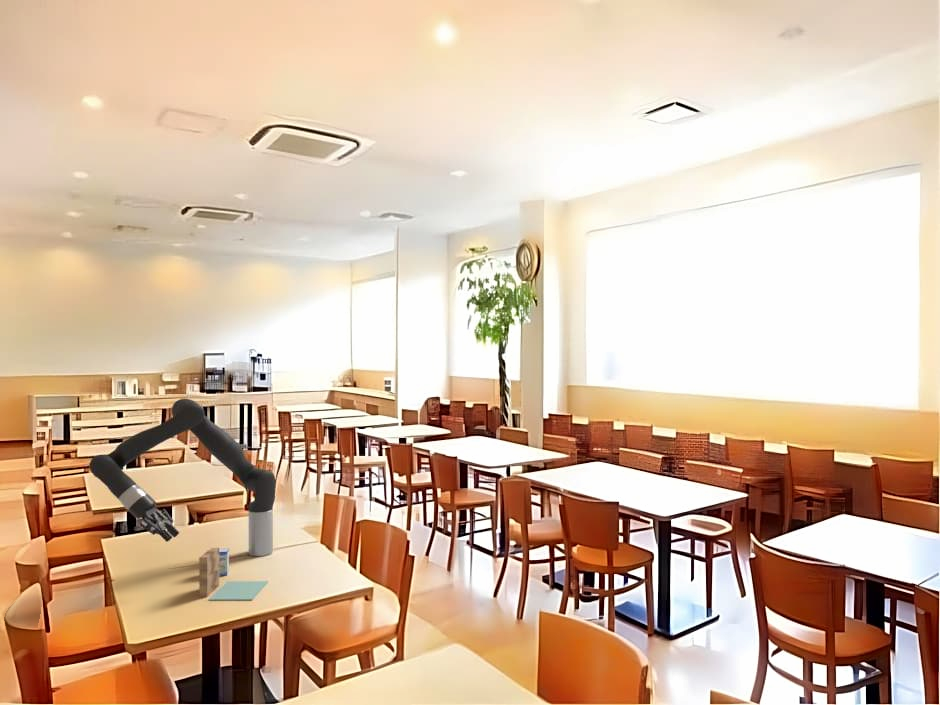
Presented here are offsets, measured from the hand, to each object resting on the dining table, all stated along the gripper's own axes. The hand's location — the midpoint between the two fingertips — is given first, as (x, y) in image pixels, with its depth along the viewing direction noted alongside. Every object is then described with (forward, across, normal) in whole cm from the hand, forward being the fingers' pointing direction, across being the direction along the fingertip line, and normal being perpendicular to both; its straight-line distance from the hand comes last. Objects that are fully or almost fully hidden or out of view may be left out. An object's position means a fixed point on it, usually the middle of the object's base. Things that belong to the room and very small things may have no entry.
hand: (173, 537), depth 211 cm
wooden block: (+21, 0, +4) cm, 22 cm away
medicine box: (+19, +16, +7) cm, 26 cm away
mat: (+28, 0, -3) cm, 29 cm away
